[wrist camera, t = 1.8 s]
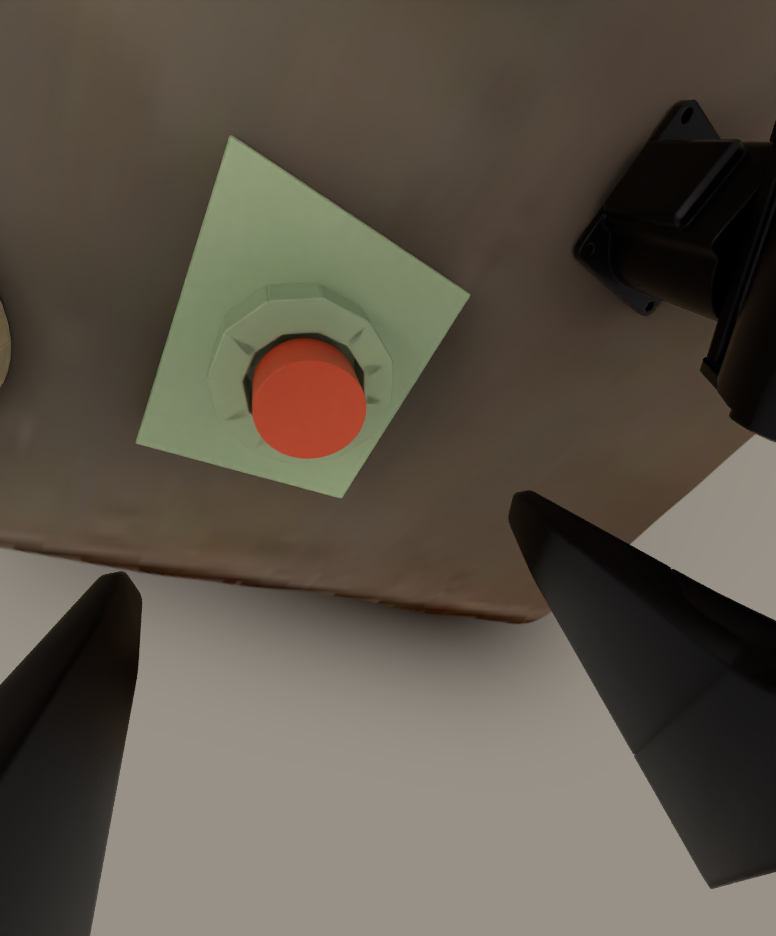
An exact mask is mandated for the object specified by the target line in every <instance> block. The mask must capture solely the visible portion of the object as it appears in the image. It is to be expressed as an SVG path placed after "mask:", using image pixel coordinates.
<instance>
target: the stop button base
mask: <svg viewBox="0 0 776 936" xmlns="http://www.w3.org/2000/svg"><path fill="white" fill-rule="evenodd" d="M469 297H470V294H469V293H468V292H466V291H465V290H463V289H462V288H461V287H459V286H458V285H456V284H455V283H453V282H452V281H450V280H449V279H447V278H446V277H444V276H443V275H441V274H440V273H438V272H437V271H435V270H434V269H432V268H431V267H429V266H428V265H426V264H425V263H423V262H422V261H420V260H419V259H417V258H416V257H414V256H413V255H411V254H410V253H408V252H407V251H405V250H404V249H402V248H401V247H399V246H398V245H396V244H395V243H393V242H392V241H390V240H389V239H387V238H386V237H384V236H383V235H381V234H380V233H378V232H377V231H375V230H374V229H372V228H371V227H369V226H368V225H366V224H365V223H363V222H362V221H360V220H359V219H357V218H356V217H354V216H353V215H351V214H350V213H348V212H347V211H345V210H344V209H342V208H341V207H339V206H338V205H336V204H335V203H333V202H332V201H330V200H329V199H327V198H326V197H324V196H323V195H321V194H320V193H318V192H317V191H315V190H314V189H312V188H311V187H309V186H308V185H306V184H305V183H303V182H302V181H300V180H299V179H297V178H296V177H294V176H293V175H291V174H290V173H288V172H287V171H285V170H284V169H282V168H281V167H279V166H278V165H276V164H275V163H273V162H272V161H270V160H269V159H267V158H266V157H264V156H263V155H261V154H260V153H258V152H257V151H255V150H254V149H252V148H251V147H249V146H248V145H246V144H245V143H243V142H242V141H240V140H239V139H237V138H236V137H234V136H231V135H230V136H229V139H228V142H227V145H226V148H225V152H224V155H223V158H222V162H221V165H220V168H219V171H218V175H217V178H216V181H215V184H214V188H213V191H212V194H211V197H210V201H209V204H208V207H207V210H206V214H205V217H204V220H203V224H202V227H201V230H200V233H199V237H198V240H197V243H196V246H195V250H194V253H193V256H192V259H191V263H190V266H189V269H188V272H187V276H186V279H185V282H184V286H183V289H182V292H181V295H180V299H179V302H178V305H177V308H176V312H175V315H174V318H173V321H172V325H171V328H170V331H169V335H168V338H167V341H166V344H165V348H164V351H163V354H162V357H161V361H160V364H159V367H158V370H157V374H156V377H155V380H154V383H153V387H152V390H151V393H150V397H149V400H148V403H147V406H146V410H145V413H144V416H143V419H142V423H141V426H140V429H139V432H138V436H137V439H136V444H139V445H143V446H147V447H151V448H154V449H158V450H162V451H166V452H169V453H173V454H177V455H181V456H184V457H188V458H192V459H195V460H199V461H203V462H207V463H210V464H214V465H218V466H222V467H225V468H229V469H233V470H237V471H240V472H244V473H248V474H251V475H255V476H259V477H263V478H266V479H270V480H274V481H278V482H281V483H285V484H289V485H293V486H296V487H300V488H304V489H307V490H311V491H315V492H319V493H322V494H326V495H330V496H334V497H337V498H342V497H343V495H344V494H345V492H346V491H347V489H348V488H349V486H350V484H351V483H352V481H353V480H354V478H355V477H356V475H357V473H358V472H359V470H360V469H361V467H362V466H363V464H364V462H365V461H366V459H367V458H368V456H369V454H370V453H371V451H372V450H373V448H374V447H375V445H376V443H377V442H378V440H379V439H380V437H381V436H382V434H383V432H384V431H385V429H386V428H387V426H388V425H389V423H390V421H391V420H392V418H393V417H394V415H395V414H396V412H397V410H398V409H399V407H400V406H401V404H402V402H403V401H404V399H405V398H406V396H407V395H408V393H409V391H410V390H411V388H412V387H413V385H414V384H415V382H416V380H417V379H418V377H419V376H420V374H421V373H422V371H423V369H424V368H425V366H426V365H427V363H428V362H429V360H430V358H431V357H432V355H433V354H434V352H435V350H436V349H437V347H438V346H439V344H440V343H441V341H442V339H443V338H444V336H445V335H446V333H447V332H448V330H449V328H450V327H451V325H452V324H453V322H454V321H455V319H456V317H457V316H458V314H459V313H460V311H461V310H462V308H463V306H464V305H465V303H466V302H467V300H468V299H469ZM298 338H311V339H317V340H321V341H324V342H326V343H329V344H331V345H333V346H334V347H336V348H337V349H338V350H340V351H341V352H342V353H343V354H344V355H345V356H346V357H347V359H348V360H349V362H350V363H351V365H352V367H353V369H354V372H355V374H356V376H357V378H358V381H359V383H360V385H361V387H362V390H363V392H364V395H365V399H366V416H365V420H364V423H363V426H362V428H361V430H360V432H359V433H358V435H357V436H356V437H355V438H354V439H353V441H352V442H351V443H349V444H348V445H347V446H346V447H344V448H343V449H341V450H340V451H338V452H336V453H334V454H331V455H328V456H325V457H321V458H314V459H301V458H295V457H291V456H288V455H285V454H282V453H280V452H278V451H277V450H275V449H274V448H272V447H271V446H270V445H268V444H267V443H266V442H265V441H264V440H263V438H262V437H261V436H260V434H259V433H258V431H257V429H256V427H255V424H254V420H253V414H252V383H253V375H254V372H255V369H256V367H257V365H258V363H259V361H260V360H261V359H262V357H263V356H264V355H265V354H266V353H267V352H268V351H269V350H271V349H272V348H273V347H275V346H277V345H278V344H280V343H283V342H285V341H288V340H292V339H298Z"/></svg>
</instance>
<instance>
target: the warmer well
mask: <svg viewBox="0 0 776 936" xmlns="http://www.w3.org/2000/svg"><path fill="white" fill-rule="evenodd" d="M10 359H11V338H10V331H9V325H8V321H7V318H6V314H5V311H4V308H3V305H2V302H1V300H0V388H1V386H2V384H3V383H4V380H5V378H6V375H7V373H8V368H9V364H10Z"/></svg>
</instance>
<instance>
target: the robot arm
mask: <svg viewBox="0 0 776 936" xmlns="http://www.w3.org/2000/svg"><path fill="white" fill-rule="evenodd" d="M684 111H685V115H684V118H683V120H682V121H681V116H682V114H683V112H684ZM770 141H771V142H741V141H740V140H738V139H720V137H719V136H718V134H717V133H716V131H715V129H714V128H713V126H712V125H711V123H710V122H709V120H708V118H707V117H706V115H705V114H704V112H703V110H702V109H701V107H700V106H699V104H698V103H697V101H695V100H683V101H680V102H679V103H677V104H676V105H675V106H674V107H673V109H672V110H671V112H670V113H669V114H668V116H667V117H666V119H665V120H664V121H663V123H662V124H661V126H660V127H659V128H658V130H657V131H656V133H655V134H654V135H653V137H652V138H651V140H650V141H649V142H648V143H647V144H646V146H645V147H644V149H643V150H642V151H641V153H640V154H639V156H638V157H637V158H636V160H635V161H634V163H633V164H632V165H631V167H630V168H629V170H628V171H627V172H626V174H625V175H624V177H623V178H622V179H621V181H620V182H619V184H618V185H617V186H616V188H615V189H614V191H613V192H612V194H611V195H610V196H609V198H608V199H607V201H606V202H605V204H604V206H603V207H602V208H601V210H600V211H599V213H598V214H597V215H596V217H595V218H594V220H593V221H592V222H591V224H590V225H589V227H588V228H587V229H586V231H585V232H584V234H583V235H582V236H581V238H580V239H579V241H578V242H577V244H576V246H575V248H574V257H575V258H576V259H577V260H578V261H579V262H580V263H581V264H582V265H583V266H585V267H586V268H587V269H588V270H589V271H590V272H591V273H593V274H594V275H595V276H596V277H597V278H598V279H599V280H601V281H602V282H603V283H604V284H605V285H606V286H607V287H608V288H610V289H611V290H612V291H613V292H614V293H615V294H616V295H618V296H619V297H620V298H621V299H622V300H623V301H624V302H626V303H627V304H628V305H629V306H630V307H631V308H632V309H633V310H635V311H636V312H637V313H639V314H641V315H644V316H648V315H650V314H652V313H653V312H654V311H655V310H656V308H657V307H658V306H659V305H660V304H661V303H662V301H666V302H669V303H671V304H674V305H676V306H679V307H682V308H684V309H687V310H689V311H692V312H695V313H697V314H700V315H703V316H705V317H708V318H710V319H713V320H716V321H718V322H717V325H716V329H715V332H714V335H713V338H712V341H711V345H710V348H709V351H708V354H707V357H705V358H704V359H703V362H702V365H701V368H700V372H701V373H702V374H703V375H704V376H705V377H706V378H707V379H708V381H709V382H710V383H711V384H712V385H713V386H714V387H715V388H716V389H717V390H718V393H719V394H720V396H721V397H722V398H723V400H724V401H725V403H726V404H727V405H728V407H729V408H731V411H730V415H729V416H730V418H731V419H732V420H734V421H735V422H736V423H738V424H739V425H741V426H743V427H744V428H746V429H747V430H749V431H750V432H752V433H754V434H757V435H759V436H761V437H764V438H766V439H768V440H770V441H773V442H776V121H775V125H774V128H773V131H772V135H771V138H770ZM587 245H589V246H588V250H587V252H586V253H585V254H584V249H585V247H586V246H587ZM647 304H648V305H647ZM646 305H647V307H646ZM508 519H509V524H510V526H511V529H512V531H513V533H514V536H515V538H516V540H517V543H518V545H519V547H520V550H521V552H522V554H523V557H524V559H525V561H526V563H527V566H528V568H529V570H530V572H531V575H532V577H533V578H534V580H535V582H536V584H537V586H538V588H539V589H540V591H541V593H542V595H543V596H544V598H545V600H546V602H547V603H548V605H549V607H550V609H551V611H552V612H553V614H554V616H555V618H556V619H557V621H558V623H559V625H560V626H561V628H562V630H563V632H564V633H565V635H566V637H567V639H568V640H569V642H570V644H571V646H572V647H573V649H574V651H575V653H576V654H577V656H578V658H579V660H580V661H581V663H582V665H583V667H584V669H585V670H586V672H587V674H588V675H589V677H590V679H591V681H592V683H593V684H594V686H595V688H596V690H597V691H598V693H599V695H600V697H601V698H602V700H603V702H604V704H605V705H606V707H607V709H608V710H609V713H610V714H611V716H612V718H613V720H614V721H615V723H616V725H617V727H618V728H619V730H620V732H621V734H622V735H623V737H624V739H625V741H626V742H627V744H628V746H629V748H630V749H631V751H632V753H633V754H635V755H634V757H635V759H636V760H637V762H638V764H639V766H640V768H641V769H642V771H643V773H644V775H645V776H646V778H647V780H648V782H649V783H650V785H651V787H652V788H653V790H654V792H655V794H656V796H657V797H658V799H659V801H660V803H661V804H662V806H663V808H664V810H665V812H666V813H667V815H668V817H669V819H670V820H671V822H672V824H673V826H674V827H675V829H676V831H677V833H678V834H679V836H680V838H681V840H682V841H683V843H684V845H685V847H686V848H687V850H688V852H689V854H690V855H691V857H692V859H693V860H694V862H695V864H696V866H697V868H698V870H699V871H700V873H701V875H702V876H703V878H704V880H705V881H706V883H707V884H708V886H709V887H710V888H711V889H714V888H718V887H721V886H725V885H729V884H733V883H736V882H740V881H744V880H747V879H751V878H754V877H758V876H762V875H766V874H770V873H773V872H776V621H775V620H773V619H771V618H769V617H767V616H765V615H763V614H761V613H758V612H756V611H754V610H752V609H750V608H748V607H746V606H744V605H742V604H740V603H737V602H736V601H734V600H732V599H730V598H728V597H725V596H724V595H721V594H720V593H717V592H715V591H714V590H712V589H710V588H708V587H706V586H704V585H702V584H700V583H698V582H696V581H695V580H693V579H691V578H689V577H687V576H686V575H684V574H682V573H680V572H678V571H677V570H674V569H671V568H670V567H669V566H667V565H665V564H664V563H662V562H660V561H658V560H657V559H655V558H653V557H651V556H649V555H647V554H646V553H644V552H642V551H640V550H638V549H636V548H635V547H633V546H631V545H629V544H628V543H626V542H624V541H622V540H620V539H619V538H617V537H615V536H613V535H611V534H610V533H608V532H606V531H604V530H602V529H600V528H599V527H597V526H595V525H593V524H591V523H590V522H588V521H586V520H584V519H582V518H581V517H579V516H577V515H575V514H573V513H572V512H570V511H568V510H566V509H564V508H562V507H561V506H559V505H557V504H555V503H553V502H552V501H550V500H548V499H546V498H544V497H543V496H541V495H539V494H537V493H535V492H533V491H531V490H527V491H522V492H517V493H515V494H514V495H513V499H512V503H511V507H510V511H509V516H508ZM141 613H142V598H141V595H140V592H139V591H138V589H137V588H136V586H135V585H134V583H133V582H132V581H131V579H130V578H129V577H128V575H127V574H126V573H125V572H123V571H120V572H115V573H110V574H105V575H102V576H101V577H99V578H98V579H97V581H95V582H94V584H93V585H92V586H91V587H90V588H89V589H88V590H87V591H86V592H85V593H84V594H83V595H82V597H81V598H80V599H79V600H78V601H77V602H76V603H75V604H74V605H73V606H72V607H71V609H70V610H69V611H68V612H67V613H66V614H65V615H64V616H63V617H62V618H61V619H60V621H59V622H58V623H57V624H56V625H55V626H54V627H53V628H52V629H51V630H50V632H48V634H47V635H46V636H45V637H44V638H43V639H42V640H41V641H40V642H39V643H38V644H37V646H36V647H35V648H34V649H33V650H32V651H31V652H30V653H29V654H28V655H27V656H26V657H25V659H24V660H23V661H22V662H21V663H20V664H19V665H18V666H17V667H16V668H15V670H13V672H12V673H11V674H10V675H9V676H8V677H7V678H6V679H5V680H4V681H3V682H2V684H1V685H0V936H90V933H91V927H92V921H93V916H94V911H95V905H96V900H97V894H98V888H99V883H100V878H101V872H102V866H103V861H104V856H105V850H106V845H107V839H108V834H109V828H110V823H111V817H112V812H113V806H114V801H115V796H116V790H117V785H118V779H119V773H120V768H121V763H122V757H123V752H124V746H125V740H126V735H127V730H128V724H129V719H130V713H131V708H132V702H133V696H134V691H135V685H136V680H137V673H138V661H139V647H140V629H141Z"/></svg>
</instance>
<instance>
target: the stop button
mask: <svg viewBox="0 0 776 936" xmlns="http://www.w3.org/2000/svg"><path fill="white" fill-rule="evenodd" d="M252 414H253V420H254V424H255V427H256V429H257V431H258V433H259V434H260V436H261V437H262V438H263V440H264V441H265V442H266V443H267V444H268V445H270V446H271V447H272V448H274V449H275V450H277V451H278V452H280V453H282V454H285V455H288V456H291V457H295V458H301V459H314V458H321V457H325V456H328V455H331V454H334V453H336V452H338V451H340V450H341V449H343V448H344V447H346V446H347V445H348V444H349V443H351V442H352V441H353V439H354V438H355V437H356V436H357V435H358V433H359V432H360V430H361V428H362V426H363V423H364V420H365V416H366V399H365V395H364V392H363V390H362V387H361V385H360V383H359V381H358V378H357V376H356V374H355V372H354V369H353V367H352V365H351V363H350V362H349V360H348V359H347V357H346V356H345V355H344V354H343V353H342V352H341V351H340V350H338V349H337V348H336V347H334V346H333V345H331V344H329V343H326V342H324V341H321V340H317V339H311V338H298V339H292V340H288V341H285V342H283V343H280V344H278V345H277V346H275V347H273V348H272V349H271V350H269V351H268V352H267V353H266V354H265V355H264V356H263V357H262V359H261V360H260V361H259V363H258V365H257V367H256V369H255V372H254V375H253V383H252Z"/></svg>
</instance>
